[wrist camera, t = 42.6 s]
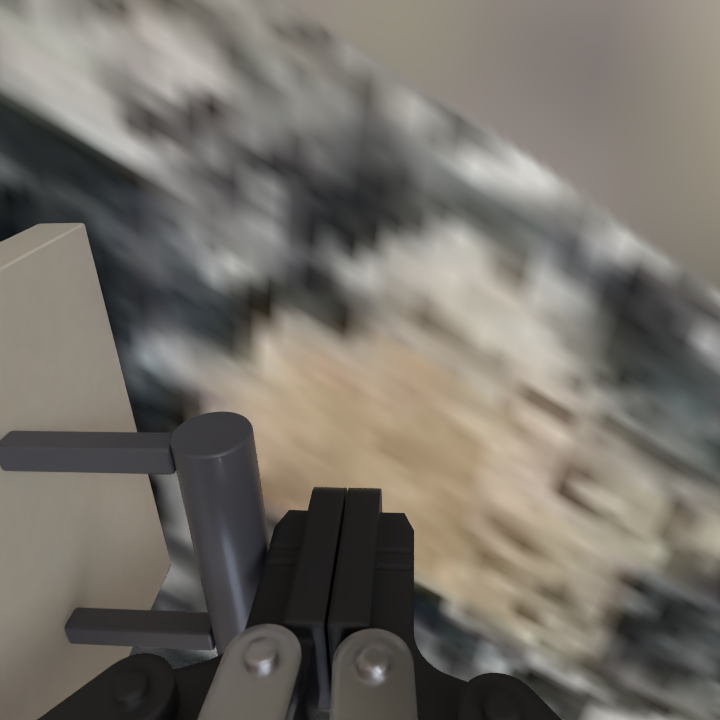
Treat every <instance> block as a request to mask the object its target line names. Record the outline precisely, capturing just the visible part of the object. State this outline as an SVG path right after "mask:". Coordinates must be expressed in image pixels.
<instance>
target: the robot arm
mask: <svg viewBox="0 0 720 720" xmlns="http://www.w3.org/2000/svg"><path fill="white" fill-rule="evenodd" d="M318 709H328V710H330V720H561V719H560V718H559V717H558V716H557V715H556V714H555V713H554V712H553V711H552V710H551V709H550V707H549V706H548V705H547V704H546V703H545V702H544V701H543V700H542V699H541V698H540V697H539V696H538V695H537V694H536V693H535V692H534V691H533V690H532V689H531V688H530V687H528V686H527V685H526V684H525V683H523V682H522V681H520V680H519V679H517V678H514V677H512V676H509V675H506V674H501V673H487V674H482V675H479V676H476V677H475V678H473V679H471V680H470V681H469V682H466V681H463V680H460V679H458V678H455V677H453V676H450V675H447V674H445V673H443V672H441V671H439V670H438V669H436V668H434V667H433V666H432V665H431V664H429V663H428V662H427V661H426V660H425V658H424V657H423V656H422V655H421V653H420V651H419V650H418V648H417V645H416V643H415V639H414V530H413V528H412V526H411V525H410V523H409V521H408V519H407V517H406V515H405V514H404V513H382V491H381V489H375V488H349V489H348V492H347V488H329V487H314V488H313V491H312V495H311V499H310V504H309V508H308V511H302V510H289V511H288V512H287V513H286V514H285V516H284V517H283V518H282V519H281V520H280V521H279V523H278V524H277V525H276V526H275V528H274V532H273V535H272V539H271V542H270V546H269V550H268V552H267V556H266V559H265V566H263V570H262V573H261V576H260V580H259V583H258V587H257V590H256V594H255V597H254V600H253V604H252V607H251V611H250V614H249V617H248V621H247V624H246V627H245V629H244V631H242V632H241V633H239V634H238V635H237V636H235V638H234V639H233V640H232V641H231V642H230V643H229V645H228V646H227V647H226V649H225V651H224V653H222V654H221V655H219V656H217V657H215V658H213V659H211V660H208V661H205V662H202V663H198V664H194V665H190V666H186V667H182V668H178V669H174V670H172V667H171V666H170V664H169V663H168V662H167V661H166V660H165V659H164V658H162V657H160V656H158V655H155V654H149V653H143V654H136V655H131V656H129V657H126V658H124V659H121V660H119V661H118V662H116V663H114V664H113V665H111V666H110V667H109V668H107V669H106V670H105V671H103V672H102V673H100V674H99V675H98V676H96V677H95V678H94V679H92V680H91V681H89V682H88V683H87V684H85V685H84V686H83V687H81V688H80V689H78V690H77V691H76V692H74V693H73V694H72V695H70V696H69V697H67V698H66V699H65V700H63V701H62V702H61V703H59V704H58V705H56V706H55V707H54V708H52V709H51V710H50V711H48V712H47V713H46V714H44V715H43V716H41V717H40V718H39V719H37V720H316V718H317V712H318Z"/></svg>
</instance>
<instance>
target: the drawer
mask: <svg viewBox="0 0 720 720" xmlns="http://www.w3.org/2000/svg"><path fill="white" fill-rule="evenodd" d="M175 471H177V476H178V480H179V485H180V489H181V493H182V498H183V502H184V507H185V511H186V516H187V520H188V524H189V529H190V533H191V538H192V542H193V547H194V551H195V556H196V560H197V564H198V569H199V573H200V578H201V582H202V587H203V591H204V595H205V600H206V604H207V609H208V613H205V612H181V611H157V610H151V607H152V605H153V603H154V601H155V599H156V597H157V595H158V592H159V590H160V588H161V586H162V584H163V582H164V580H165V577H166V575H167V573H168V571H169V569H170V567H171V563H170V559H169V555H168V551H167V547H166V543H165V539H164V535H163V531H162V527H161V524H160V520H159V516H158V512H157V508H156V504H155V500H154V496H153V492H152V488H151V484H150V480H149V476H148V474H173V473H175ZM269 546H270V543H269V536H268V530H267V523H266V516H265V509H264V502H263V495H262V488H261V482H260V475H259V468H258V461H257V454H256V447H255V440H254V434H253V427H252V425H251V423H250V422H249V420H248V419H247V418H245V417H244V416H242V415H239V414H236V413H232V412H212V413H206V414H202V415H199V416H196V417H193V418H191V419H189V420H187V421H186V422H184V423H182V424H181V425H180V426H179V427H178V428H177V429H176V430H175V431H174V432H173V433H145V432H137V429H136V425H135V421H134V417H133V413H132V409H131V405H130V401H129V398H128V394H127V390H126V386H125V382H124V378H123V374H122V370H121V366H120V362H119V358H118V354H117V350H116V346H115V342H114V338H113V334H112V331H111V327H110V323H109V319H108V315H107V311H106V307H105V303H104V299H103V295H102V291H101V287H100V283H99V279H98V275H97V271H96V268H95V264H94V260H93V256H92V252H91V248H90V244H89V240H88V236H87V232H86V228H85V225H84V224H83V223H53V224H37V225H35V226H33V227H31V228H29V229H27V230H25V231H23V232H21V233H19V234H17V235H14V236H12V237H10V238H8V239H6V240H4V241H2V242H0V720H37V719H39V718H40V717H41V716H43V715H44V714H46V713H47V712H48V711H50V710H51V709H52V708H54V707H55V706H56V705H58V704H59V703H61V702H62V701H63V700H65V699H66V698H67V697H69V696H70V695H72V694H73V693H74V692H76V691H77V690H78V689H80V688H81V687H83V686H84V685H85V684H87V683H88V682H89V681H91V680H92V679H94V678H95V677H96V676H98V675H99V674H100V673H102V672H103V671H105V670H106V669H107V668H109V667H110V666H111V665H113V664H114V663H116V662H118V661H119V660H121V659H124V658H126V657H129V654H130V652H131V650H132V648H133V647H150V648H171V649H192V650H214V648H215V646H216V649H217V653H218V656H219V655H221V654H222V653H224V651H225V649H226V647H227V646H228V645H229V643H230V642H231V641H232V640H233V639H234V638H235V636H237V635H238V634H239V633H241V632H242V631H244V629H245V627H246V624H247V621H248V617H249V614H250V611H251V607H252V604H253V600H254V597H255V594H256V590H257V587H258V583H259V580H260V576H261V573H262V570H263V566H265V559H266V556H267V552H268V550H269Z"/></svg>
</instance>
